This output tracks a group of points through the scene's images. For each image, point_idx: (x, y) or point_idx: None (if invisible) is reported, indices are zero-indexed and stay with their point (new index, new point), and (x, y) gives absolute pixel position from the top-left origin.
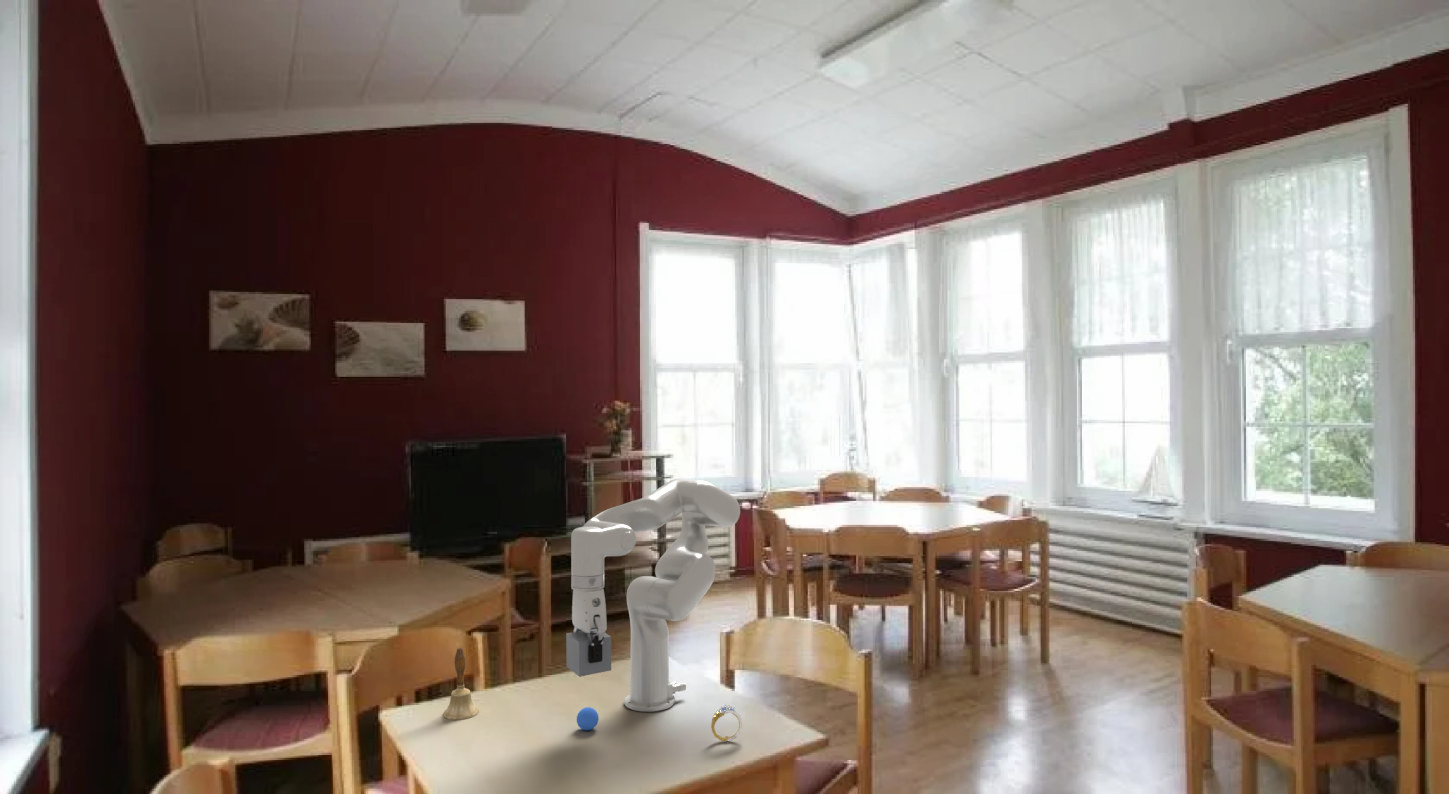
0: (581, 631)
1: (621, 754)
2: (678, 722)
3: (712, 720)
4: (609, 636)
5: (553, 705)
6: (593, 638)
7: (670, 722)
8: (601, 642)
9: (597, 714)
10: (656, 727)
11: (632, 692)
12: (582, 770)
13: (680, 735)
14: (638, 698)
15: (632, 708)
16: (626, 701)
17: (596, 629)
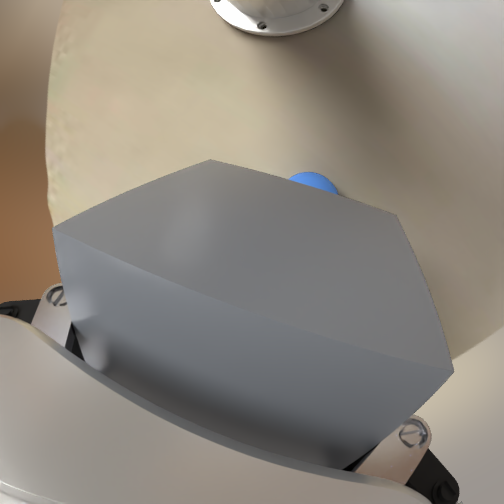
0: (93, 365)
1: (469, 244)
2: (436, 21)
3: None
4: (434, 380)
5: (139, 162)
6: (323, 459)
7: (424, 30)
8: (429, 452)
9: (329, 187)
10: (428, 73)
11: (254, 8)
12: (444, 331)
13: (496, 84)
14: (286, 9)
15: (288, 33)
16: (248, 27)
17: (77, 263)
